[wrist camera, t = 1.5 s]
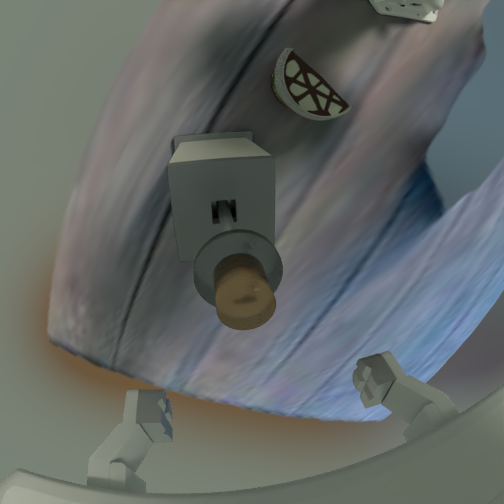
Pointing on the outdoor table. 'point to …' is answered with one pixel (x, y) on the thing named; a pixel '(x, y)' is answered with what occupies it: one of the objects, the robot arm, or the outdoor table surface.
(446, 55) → the outdoor table surface
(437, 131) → the outdoor table surface
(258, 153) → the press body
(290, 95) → the half citrus wheel toy
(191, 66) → the outdoor table surface
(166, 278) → the outdoor table surface
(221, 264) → the plunger
